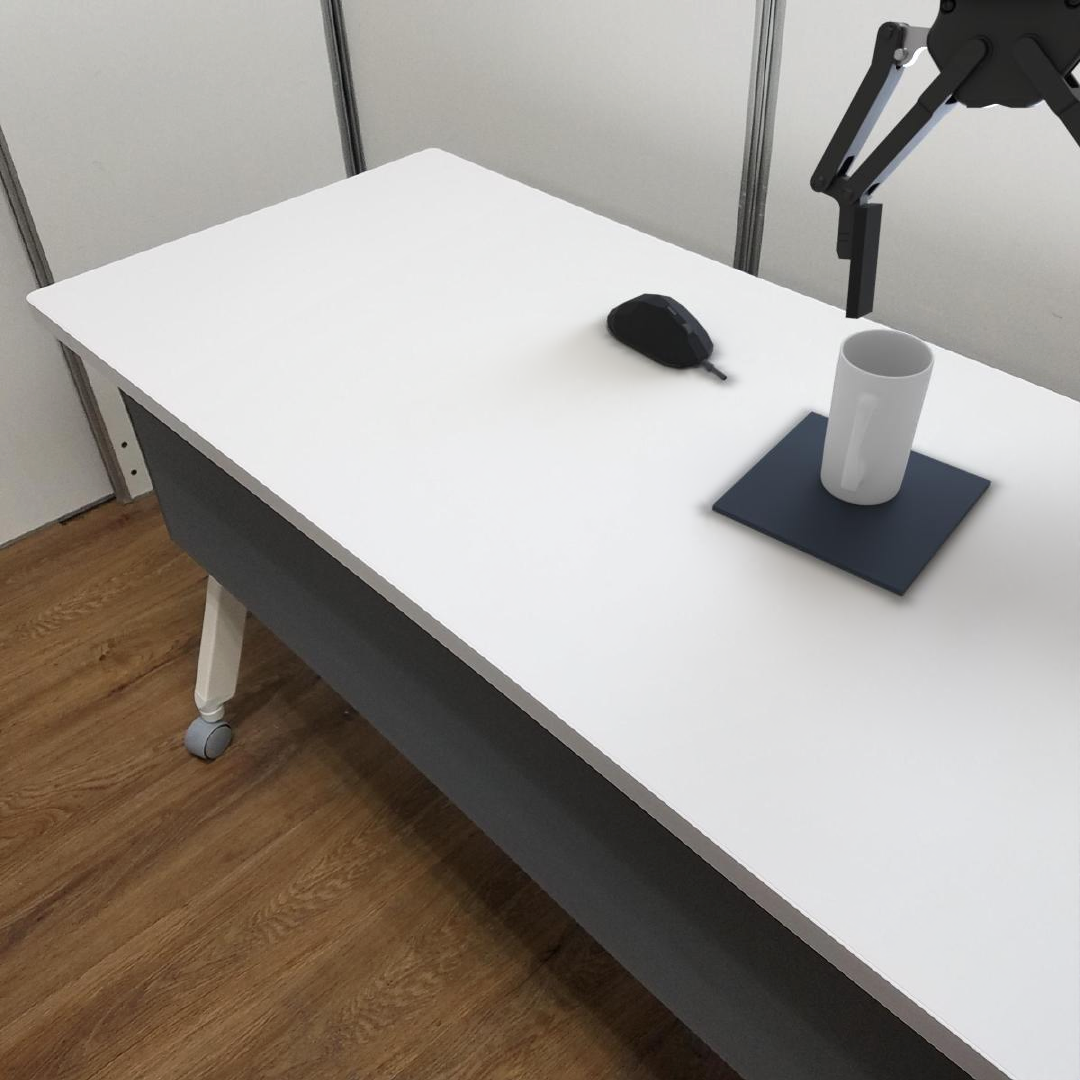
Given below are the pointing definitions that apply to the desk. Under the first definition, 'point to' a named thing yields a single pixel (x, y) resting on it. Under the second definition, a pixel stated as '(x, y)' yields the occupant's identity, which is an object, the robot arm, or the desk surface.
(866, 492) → the mug
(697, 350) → the gaming mouse
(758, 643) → the desk surface
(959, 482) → the mat
